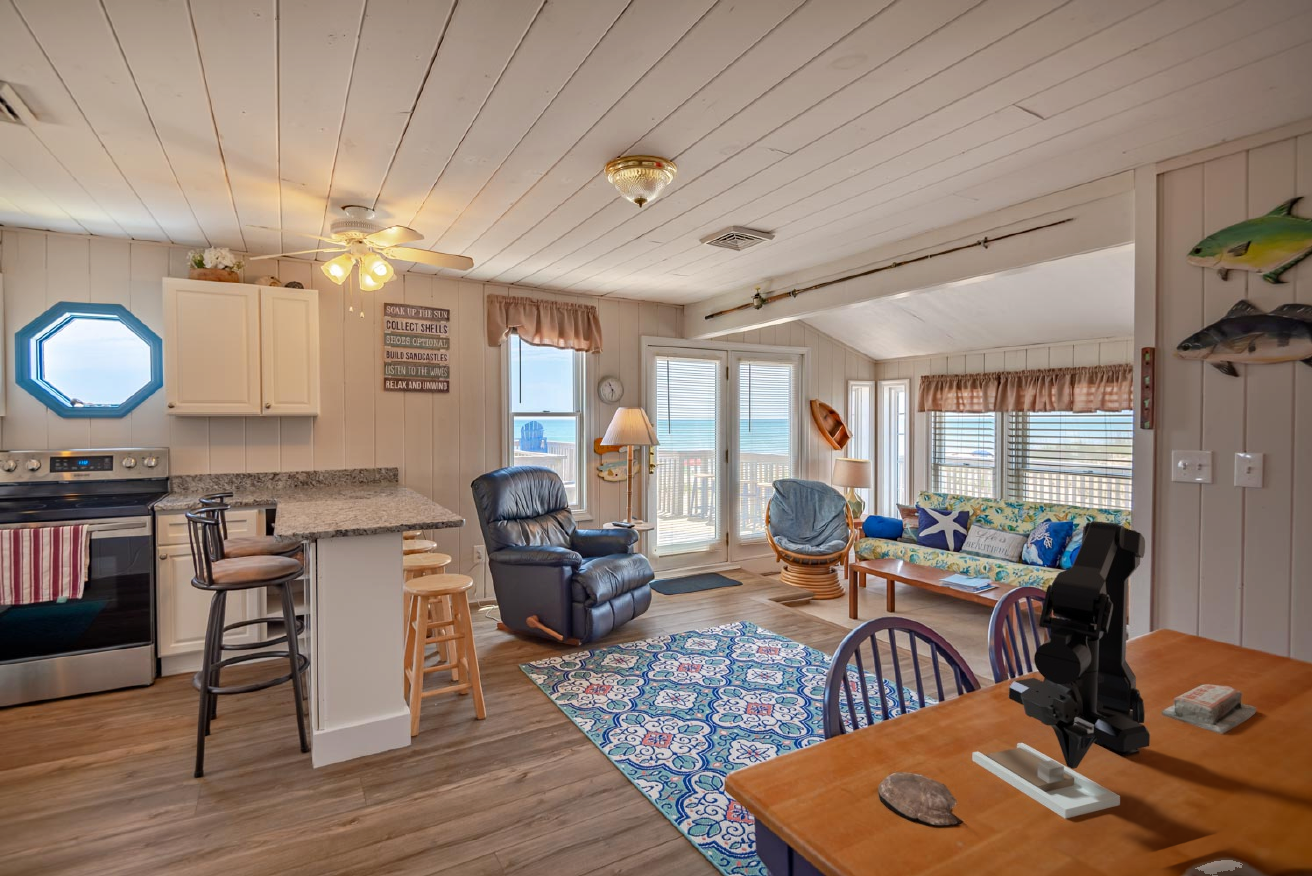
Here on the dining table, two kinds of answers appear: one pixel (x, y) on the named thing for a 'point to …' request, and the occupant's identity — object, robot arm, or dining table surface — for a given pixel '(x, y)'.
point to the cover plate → (1033, 769)
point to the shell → (918, 799)
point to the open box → (1061, 801)
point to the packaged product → (1211, 708)
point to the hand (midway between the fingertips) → (1071, 767)
